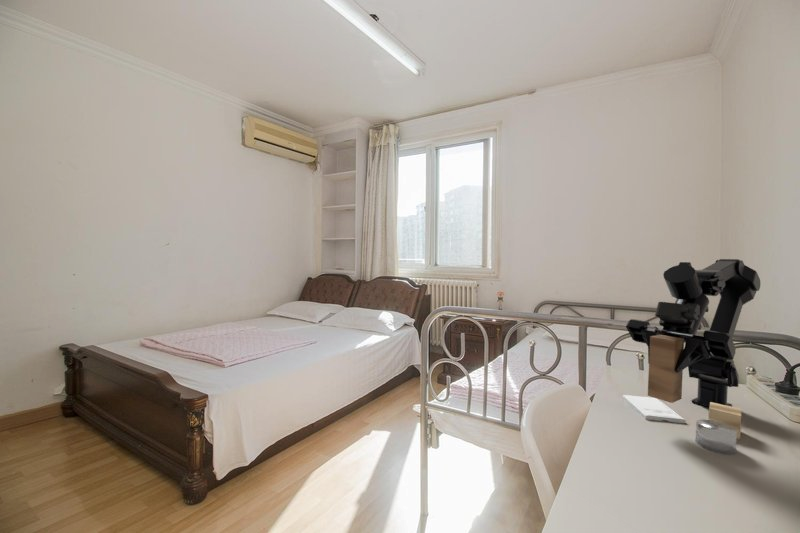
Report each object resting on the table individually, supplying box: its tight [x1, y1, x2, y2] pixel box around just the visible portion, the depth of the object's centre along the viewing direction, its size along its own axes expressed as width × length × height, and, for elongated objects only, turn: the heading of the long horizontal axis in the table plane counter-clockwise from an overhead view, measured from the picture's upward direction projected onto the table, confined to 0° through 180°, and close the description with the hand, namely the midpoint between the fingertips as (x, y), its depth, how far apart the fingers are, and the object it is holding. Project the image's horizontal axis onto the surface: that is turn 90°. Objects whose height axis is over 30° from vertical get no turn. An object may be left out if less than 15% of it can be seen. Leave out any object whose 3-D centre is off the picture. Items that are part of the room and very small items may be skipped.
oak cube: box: [708, 402, 742, 440], centre depth 76 cm, size 5×5×5 cm
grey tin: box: [694, 419, 738, 456], centre depth 70 cm, size 6×6×4 cm
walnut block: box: [647, 335, 685, 404], centre depth 76 cm, size 4×4×13 cm
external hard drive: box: [622, 394, 687, 424], centre depth 86 cm, size 2×8×12 cm
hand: (662, 367), depth 75 cm, fingers closed on walnut block, 4 cm apart
